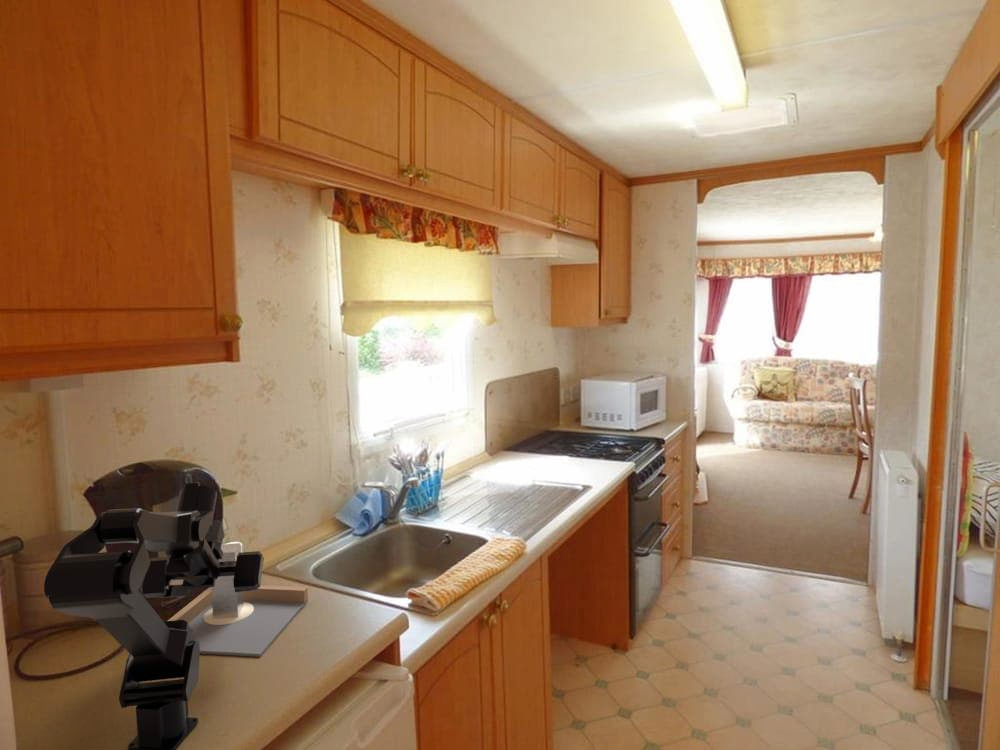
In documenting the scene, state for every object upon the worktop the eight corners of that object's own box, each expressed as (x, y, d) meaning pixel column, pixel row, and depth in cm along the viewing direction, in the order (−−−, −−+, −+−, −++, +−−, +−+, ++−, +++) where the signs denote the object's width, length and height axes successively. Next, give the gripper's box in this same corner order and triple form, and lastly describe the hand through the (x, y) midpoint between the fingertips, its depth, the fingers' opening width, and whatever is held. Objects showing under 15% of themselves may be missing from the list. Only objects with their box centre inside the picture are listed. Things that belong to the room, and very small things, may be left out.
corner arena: (260, 656, 105) (259, 640, 104) (151, 650, 107) (150, 634, 106) (307, 601, 125) (307, 587, 124) (215, 597, 126) (214, 583, 126)
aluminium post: (238, 617, 117) (234, 552, 116) (213, 619, 116) (209, 553, 115) (243, 606, 121) (240, 543, 120) (219, 607, 121) (216, 544, 119)
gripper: (259, 508, 105) (274, 545, 117) (142, 514, 102) (170, 552, 114) (250, 571, 99) (267, 604, 110) (125, 579, 95) (156, 612, 107)
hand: (215, 591), depth 111 cm, fingers open, 9 cm apart
